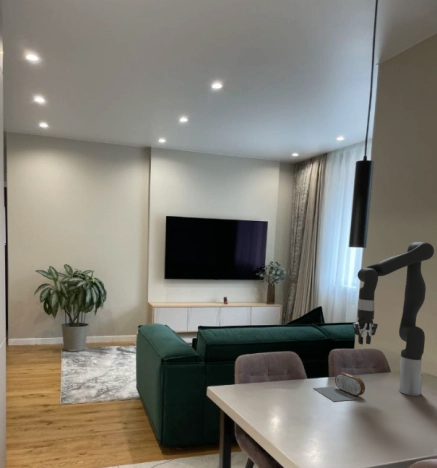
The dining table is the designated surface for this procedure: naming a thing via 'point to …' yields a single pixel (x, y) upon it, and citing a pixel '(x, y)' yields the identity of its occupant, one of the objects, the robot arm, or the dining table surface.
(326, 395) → the mat
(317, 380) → the dining table surface
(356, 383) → the tin
